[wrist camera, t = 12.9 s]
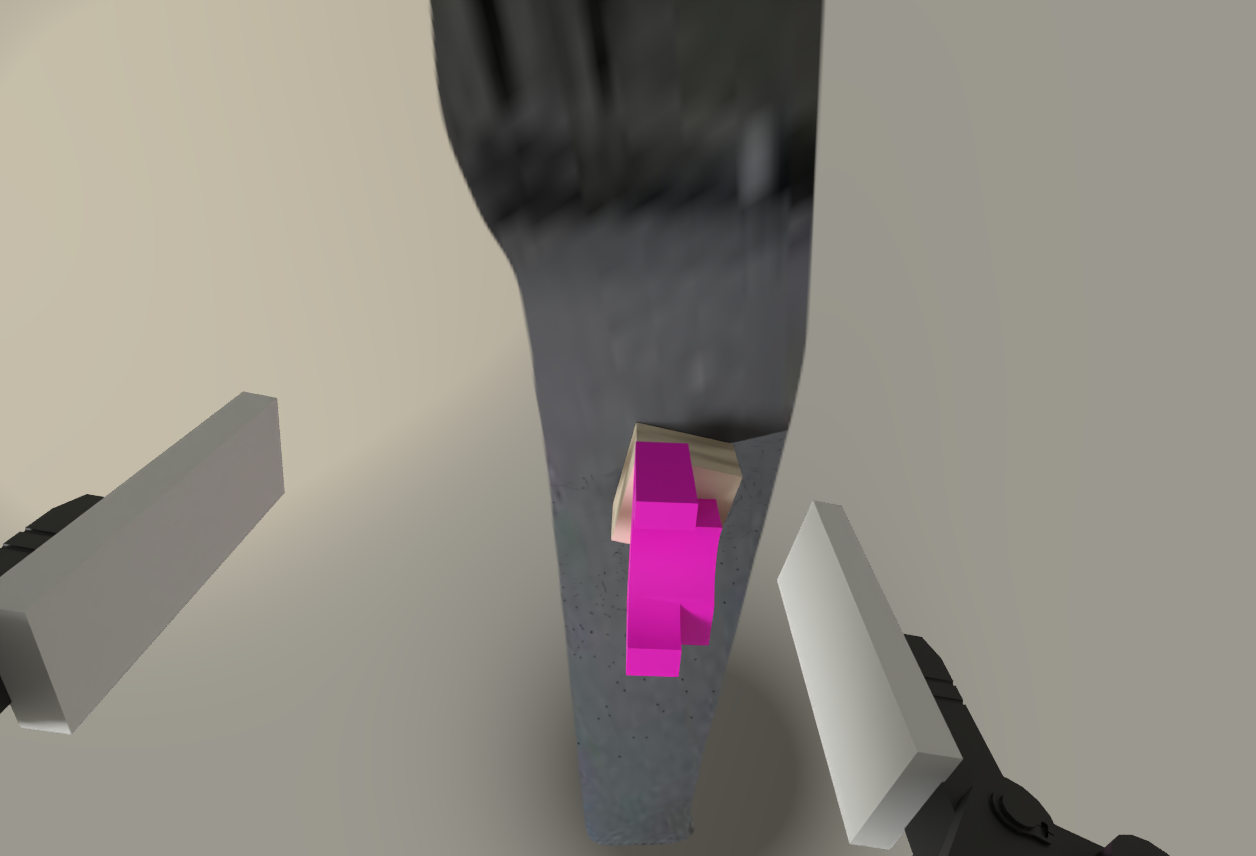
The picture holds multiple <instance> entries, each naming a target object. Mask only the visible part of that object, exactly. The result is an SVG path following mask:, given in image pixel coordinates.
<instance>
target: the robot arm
mask: <svg viewBox="0 0 1256 856" xmlns="http://www.w3.org/2000/svg"><path fill="white" fill-rule="evenodd" d="M282 469H283V467H282V455H281V443H280V430H279V417H278V404H277V398H274V397H268V396H264V395H258V394H253V393H248V392H242V393H241V394H240V395H238V396H237V397H235V398H234V399H233V400H231V401H230V402H229V403H228V404H226V405H225V406H224V407H222V408H221V409H220V410H218V411H217V412H216V413H214V414H213V415H212V416H210V417H209V418H208V419H207V420H205V421H204V422H203V423H201V424H200V425H199V426H197V427H196V428H195V429H193V430H192V431H191V432H189V433H188V434H187V435H186V436H184V437H183V438H182V439H180V440H179V441H178V442H176V443H175V444H174V445H173V446H171V447H170V448H168V449H167V450H166V451H165V452H163V453H162V454H161V455H159V456H158V457H157V458H155V459H154V460H153V461H151V462H150V463H149V464H148V465H146V466H145V467H144V468H142V469H141V470H140V471H138V472H137V473H136V474H135V475H133V476H132V477H130V478H129V479H128V480H127V481H125V482H124V483H123V484H121V485H120V486H119V487H117V488H116V489H115V490H114V491H112V492H111V493H110V494H108V495H107V496H106V497H101V496H95V495H89V494H86V495H84V496H81V497H79V498H77V499H74V500H72V501H69V502H67V503H65V504H62V505H60V506H57V507H55V508H53V509H51V510H50V511H48V512H47V513H46V514H44V515H43V516H41V517H40V518H39V519H37V520H36V521H34V522H33V523H32V524H30V525H29V526H27V527H26V528H25V531H24V532H19V533H18V534H16V535H15V536H13V537H12V538H11V539H9V540H8V541H7V542H5V543H4V544H3V547H2V548H0V713H1V712H2V711H3V710H4V709H5V708H6V707H7V706H8V705H9V704H10V705H11V707H12V709H13V712H14V714H15V716H16V718H17V721H18V723H19V725H20V727H22V728H29V729H36V730H43V731H51V732H58V733H65V734H72V733H73V732H74V731H75V730H76V729H77V727H78V726H79V725H80V724H81V723H82V722H83V721H84V720H85V718H86V717H87V716H88V715H89V714H90V713H91V712H92V711H93V709H94V708H95V707H96V706H97V705H98V704H99V703H100V701H101V700H102V699H103V698H104V697H105V696H106V695H107V694H108V692H109V691H110V690H111V689H112V688H113V686H114V685H115V684H116V683H117V682H118V681H119V680H120V679H121V678H122V676H123V675H124V674H125V673H126V672H127V671H128V670H129V669H130V667H131V666H132V665H133V664H134V663H135V662H136V661H137V659H138V658H139V657H140V656H141V655H142V654H143V653H144V651H145V650H146V649H147V648H148V647H149V646H150V645H151V644H152V642H153V641H154V640H155V639H156V638H157V637H158V636H159V635H160V633H161V632H162V631H163V630H164V629H165V628H166V627H167V625H168V624H169V623H170V622H171V621H172V620H173V619H174V617H175V616H176V615H177V614H178V613H179V611H181V609H182V608H183V607H184V606H185V605H186V604H187V603H188V602H189V600H190V599H191V598H192V597H193V596H194V595H195V594H196V593H197V591H198V590H199V589H200V588H201V587H202V585H204V583H205V582H206V581H207V580H208V579H209V578H210V577H211V575H212V574H213V573H214V572H215V571H216V570H217V569H218V567H219V566H220V565H221V564H222V563H223V562H224V561H225V560H226V558H227V557H228V556H229V555H230V554H231V553H232V552H233V551H234V549H235V548H236V547H237V546H238V545H239V544H240V543H241V541H242V540H243V539H244V538H245V537H246V536H247V535H248V533H249V532H250V531H251V530H252V529H253V528H254V527H255V525H256V524H257V523H258V522H259V521H260V520H261V518H263V516H264V515H265V514H266V513H267V512H268V511H269V510H270V508H271V507H272V506H273V505H274V504H275V503H276V502H277V500H278V499H279V498H280V497H281V496H282V495H283V494H284V480H283V470H282ZM777 581H778V585H779V589H780V592H781V596H782V600H783V603H784V607H785V611H786V614H787V618H788V622H789V625H790V628H791V632H792V636H793V640H794V643H795V647H796V651H797V654H798V658H799V661H800V665H801V669H802V672H803V676H804V679H805V683H806V687H807V691H808V694H809V698H810V701H811V705H812V708H813V712H814V716H815V720H816V723H817V727H818V730H819V734H820V738H821V741H822V745H823V749H824V752H825V756H826V760H827V763H828V767H829V771H830V774H831V778H832V781H833V785H834V789H835V792H836V796H837V799H838V803H839V807H840V810H841V814H842V817H843V821H844V825H845V828H846V832H847V836H848V840H849V843H850V844H854V845H861V846H869V847H876V848H883V849H891V848H892V846H893V845H894V844H895V843H896V842H897V840H898V839H899V838H900V837H901V835H902V834H903V833H904V832H906V835H907V838H908V841H909V844H910V847H911V849H912V852H913V856H1169V855H1168V854H1167V853H1165V852H1164V851H1162V850H1161V849H1159V848H1158V847H1156V846H1155V845H1153V844H1152V843H1150V842H1149V841H1146V840H1144V839H1141V838H1139V837H1136V836H1133V835H1118V836H1117V837H1116V838H1115V839H1114V840H1113V841H1112V842H1110V843H1109V844H1108V845H1107V846H1106V847H1105V848H1104V847H1102V846H1100V845H1098V844H1096V843H1093V842H1091V841H1089V840H1087V839H1085V838H1082V837H1080V836H1078V835H1076V834H1074V833H1071V832H1070V831H1067V830H1065V829H1063V828H1061V827H1059V826H1057V825H1055V824H1054V823H1053V821H1052V819H1051V817H1050V815H1049V814H1048V813H1047V812H1046V810H1045V809H1044V808H1043V806H1042V805H1041V804H1040V802H1039V801H1038V800H1037V799H1036V798H1034V797H1033V796H1032V795H1031V794H1030V793H1029V792H1028V791H1026V790H1025V789H1024V788H1023V787H1022V786H1020V785H1018V784H1016V783H1014V782H1013V781H1011V780H1009V779H1007V778H1005V777H1003V775H1002V773H1001V771H1000V770H999V768H998V766H997V764H996V762H995V760H994V758H993V756H992V754H991V753H990V750H989V749H988V747H987V745H986V743H985V741H984V739H983V737H982V735H981V733H980V731H979V730H978V728H977V726H976V724H975V722H974V720H973V718H972V716H971V714H970V712H969V711H968V709H967V707H966V705H963V699H962V697H961V695H960V694H959V691H958V689H957V688H956V686H953V680H952V678H951V676H950V674H949V672H948V670H947V669H946V667H945V665H944V663H943V661H942V659H941V658H940V657H939V656H938V655H937V653H936V652H935V651H934V650H933V649H932V648H931V647H930V646H929V645H928V644H927V642H926V641H925V640H924V639H923V638H922V637H918V636H913V635H907V634H903V632H902V630H901V628H900V626H899V624H898V622H897V620H896V618H895V616H894V614H893V612H892V610H891V607H890V605H889V603H888V601H887V599H886V597H885V595H884V593H883V591H882V589H881V587H880V584H879V582H878V580H877V578H876V576H875V574H874V572H873V570H872V568H871V566H870V563H869V561H868V559H867V557H866V555H865V553H864V551H863V549H862V547H861V545H860V543H859V540H858V538H857V536H856V534H855V532H854V530H853V528H852V526H851V524H850V522H849V520H848V517H847V515H846V513H845V511H844V509H843V507H842V506H841V505H836V504H830V503H825V502H820V501H815V500H813V502H812V504H811V506H810V508H809V510H808V513H807V515H806V517H805V519H804V522H803V524H802V526H801V528H800V530H799V533H798V535H797V537H796V539H795V542H794V544H793V546H792V548H791V550H790V553H789V555H788V557H787V560H786V562H785V564H784V566H783V568H782V571H781V573H780V575H779V577H778V580H777Z"/></svg>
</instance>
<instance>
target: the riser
mask: <svg viewBox="0 0 1256 856" xmlns="http://www.w3.org/2000/svg"><path fill="white" fill-rule="evenodd" d="M636 441H641V442H666V443H688V445H689V451H690V457H691V463H692V469H693V475H694V481H695V487H696V493H697V499H716V501H717V506H718V511H719V515H720V520H721V525H722V527H723V525H724V522H725V520H726V517H727V515H728V512H729V510H730V507H731V505H732V502H733V500H734V497H735V495H736V492H737V489H738V487H739V484H740V482H741V479H742V474H741V471H740V467H739V464H738V461H737V457H736V454H735V451H734V447H733V444H730V443H726V442H722V441H717V440H713V439H708V438H704V437H699V436H695V435H690V434H686V433H682V432H677V431H673V430H668V429H664V428H659V427H655V426H650V425H646V424H642V423H637V422H636V425H635V429H634V432H633V436H632V439H631V443H630V446H629V450H628V453H627V457H626V460H625V464H624V467H623V471H622V474H621V478H620V481H619V485H618V488H617V492H616V495H615V499H614V502H613V516H612V535H611V540H613V541H618V542H623V543H627V544H630V536H631V517H632V499H633V480H634V462H635V443H636Z"/></svg>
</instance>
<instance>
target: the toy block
mask: <svg viewBox="0 0 1256 856" xmlns="http://www.w3.org/2000/svg"><path fill="white" fill-rule="evenodd" d="M721 530H722V525H721V520H720V515H719V511H718V506H717V501H716V499H697V493H696V487H695V481H694V475H693V469H692V463H691V457H690V451H689V445H688V443H666V442H641V441H636V443H635V462H634V480H633V499H632V517H631V536H630V554H629V572H628V591H627V643H626V675H640V676H669V677H678V676H679V667H680V658H681V644H682V645H709V638H710V631H711V624H712V617H713V610H714V583H715V566H716V556H717V548H718V542H719V537H720V533H721Z"/></svg>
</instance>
